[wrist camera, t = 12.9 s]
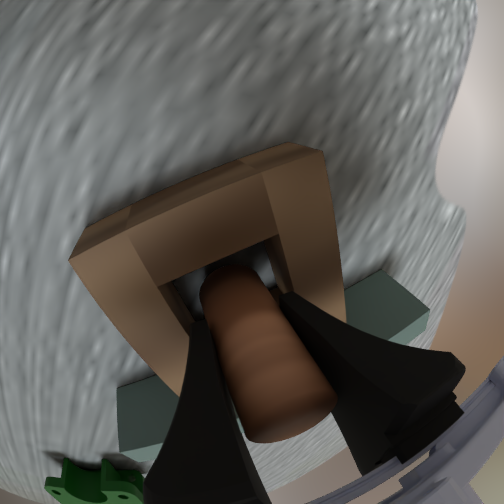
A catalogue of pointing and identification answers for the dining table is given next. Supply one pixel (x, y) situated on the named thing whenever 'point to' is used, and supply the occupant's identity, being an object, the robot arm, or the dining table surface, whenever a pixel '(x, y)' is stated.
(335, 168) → the dining table surface
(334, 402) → the dowel
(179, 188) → the square frame
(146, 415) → the wall
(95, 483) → the clamp
